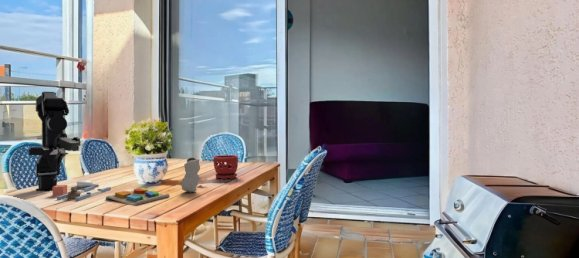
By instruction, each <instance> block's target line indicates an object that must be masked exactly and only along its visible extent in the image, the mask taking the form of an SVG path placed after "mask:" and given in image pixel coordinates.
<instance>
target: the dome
mask: <svg viewBox="0 0 579 258" xmlns="http://www.w3.org/2000/svg"><path fill="white" fill-rule="evenodd" d="M93 184H94V181H93V180H89V179H86V180H78V181H76V186H78V187H87V186H92V185H93Z"/></svg>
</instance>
